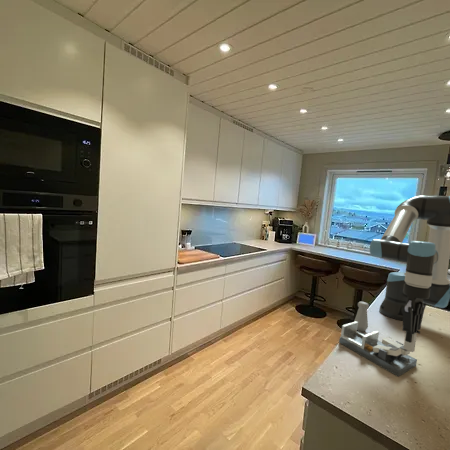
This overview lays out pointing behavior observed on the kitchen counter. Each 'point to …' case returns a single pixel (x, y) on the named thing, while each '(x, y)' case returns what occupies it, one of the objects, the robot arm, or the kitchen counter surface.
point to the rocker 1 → (388, 350)
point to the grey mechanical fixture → (365, 348)
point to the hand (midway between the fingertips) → (409, 349)
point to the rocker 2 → (389, 341)
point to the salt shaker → (362, 316)
